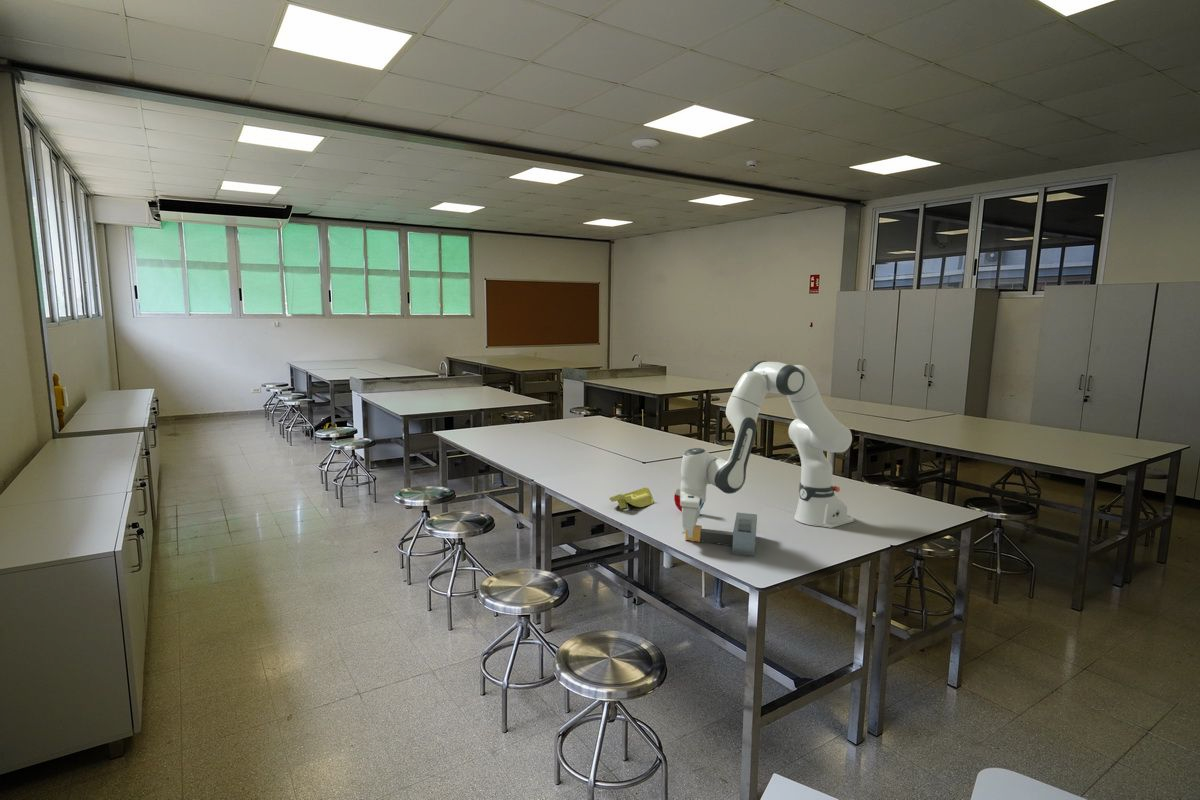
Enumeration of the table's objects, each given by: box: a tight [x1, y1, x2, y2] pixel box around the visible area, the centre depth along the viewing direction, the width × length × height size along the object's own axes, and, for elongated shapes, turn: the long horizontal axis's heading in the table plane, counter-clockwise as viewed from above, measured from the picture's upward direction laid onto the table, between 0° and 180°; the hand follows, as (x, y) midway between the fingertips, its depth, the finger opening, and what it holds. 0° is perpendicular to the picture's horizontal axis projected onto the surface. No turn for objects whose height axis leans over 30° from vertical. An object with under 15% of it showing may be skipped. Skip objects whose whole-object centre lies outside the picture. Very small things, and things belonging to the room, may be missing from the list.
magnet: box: [673, 486, 705, 513], centre depth 237 cm, size 12×3×10 cm, turn 73°
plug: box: [682, 524, 733, 546], centre depth 207 cm, size 21×4×4 cm, turn 74°
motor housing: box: [731, 512, 758, 558], centre depth 204 cm, size 7×20×10 cm, turn 164°
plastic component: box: [609, 487, 655, 510], centre depth 246 cm, size 20×7×10 cm
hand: (691, 534), depth 209 cm, fingers closed on plug, 4 cm apart
